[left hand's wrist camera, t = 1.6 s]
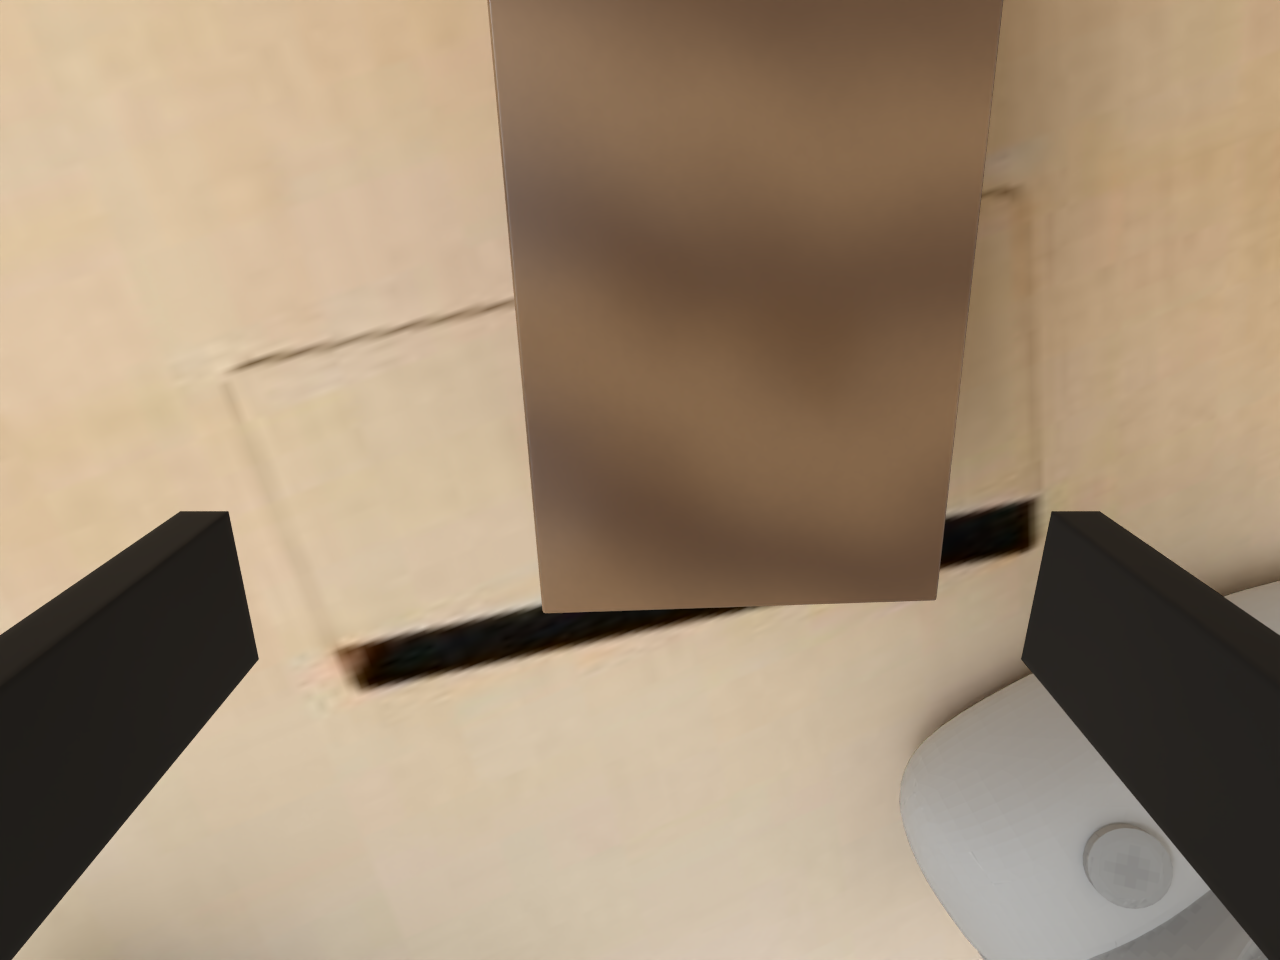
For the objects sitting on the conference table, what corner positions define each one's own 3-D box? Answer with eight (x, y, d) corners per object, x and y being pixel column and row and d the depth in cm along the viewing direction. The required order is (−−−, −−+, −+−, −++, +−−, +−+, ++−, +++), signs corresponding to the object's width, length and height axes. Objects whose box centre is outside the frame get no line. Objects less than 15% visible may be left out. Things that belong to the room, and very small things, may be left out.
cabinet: (536, -77, 26) (461, -283, 15) (866, -90, 26) (1039, -308, 15) (574, 474, 32) (542, 614, 21) (835, 465, 32) (937, 601, 21)
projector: (1249, 930, 41) (1552, 1291, 28) (836, 899, 41) (938, 1257, 27) (1436, 567, 34) (1981, 817, 20) (932, 520, 33) (1144, 748, 19)
